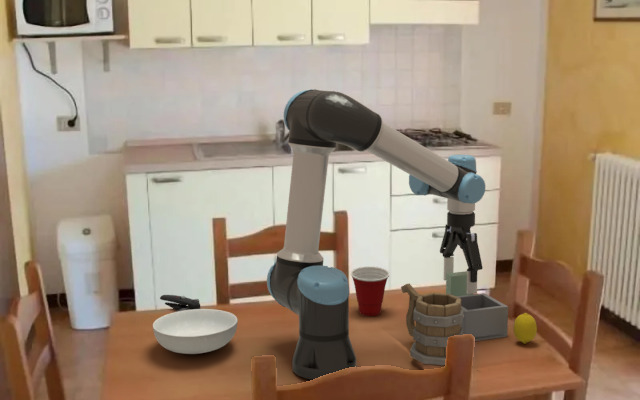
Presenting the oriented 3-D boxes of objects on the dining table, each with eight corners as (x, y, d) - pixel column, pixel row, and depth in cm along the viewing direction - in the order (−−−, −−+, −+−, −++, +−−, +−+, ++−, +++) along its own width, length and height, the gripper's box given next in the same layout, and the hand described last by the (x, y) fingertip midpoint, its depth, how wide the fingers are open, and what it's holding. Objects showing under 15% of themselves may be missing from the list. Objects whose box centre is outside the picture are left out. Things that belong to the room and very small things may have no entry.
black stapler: (207, 318, 216) (206, 298, 215) (186, 324, 211) (185, 304, 210) (173, 303, 229) (172, 285, 228) (152, 309, 224) (151, 290, 223)
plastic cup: (354, 320, 211) (353, 278, 209) (347, 308, 222) (347, 267, 220) (393, 318, 213) (393, 276, 210) (385, 306, 223) (385, 265, 221)
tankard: (475, 358, 184) (477, 297, 182) (433, 369, 178) (434, 307, 175) (424, 333, 201) (425, 277, 199) (383, 342, 195) (384, 285, 192)
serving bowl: (250, 336, 201) (249, 311, 200) (218, 367, 181) (217, 339, 180) (177, 329, 207) (175, 305, 205) (138, 359, 187) (136, 332, 186)
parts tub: (465, 342, 194) (465, 311, 193) (443, 326, 206) (443, 297, 204) (507, 336, 198) (508, 306, 196) (483, 321, 209) (484, 293, 208)
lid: (449, 321, 210) (449, 282, 208) (428, 307, 222) (428, 270, 220) (491, 316, 214) (492, 277, 212) (468, 302, 226) (469, 265, 224)
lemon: (520, 348, 190) (521, 317, 188) (509, 341, 195) (510, 310, 193) (540, 346, 191) (541, 315, 190) (528, 338, 196) (529, 308, 195)
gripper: (497, 219, 202) (494, 297, 206) (452, 202, 225) (451, 273, 229) (471, 221, 200) (469, 300, 204) (428, 204, 223) (427, 275, 227)
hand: (459, 286), depth 217 cm, fingers open, 13 cm apart
